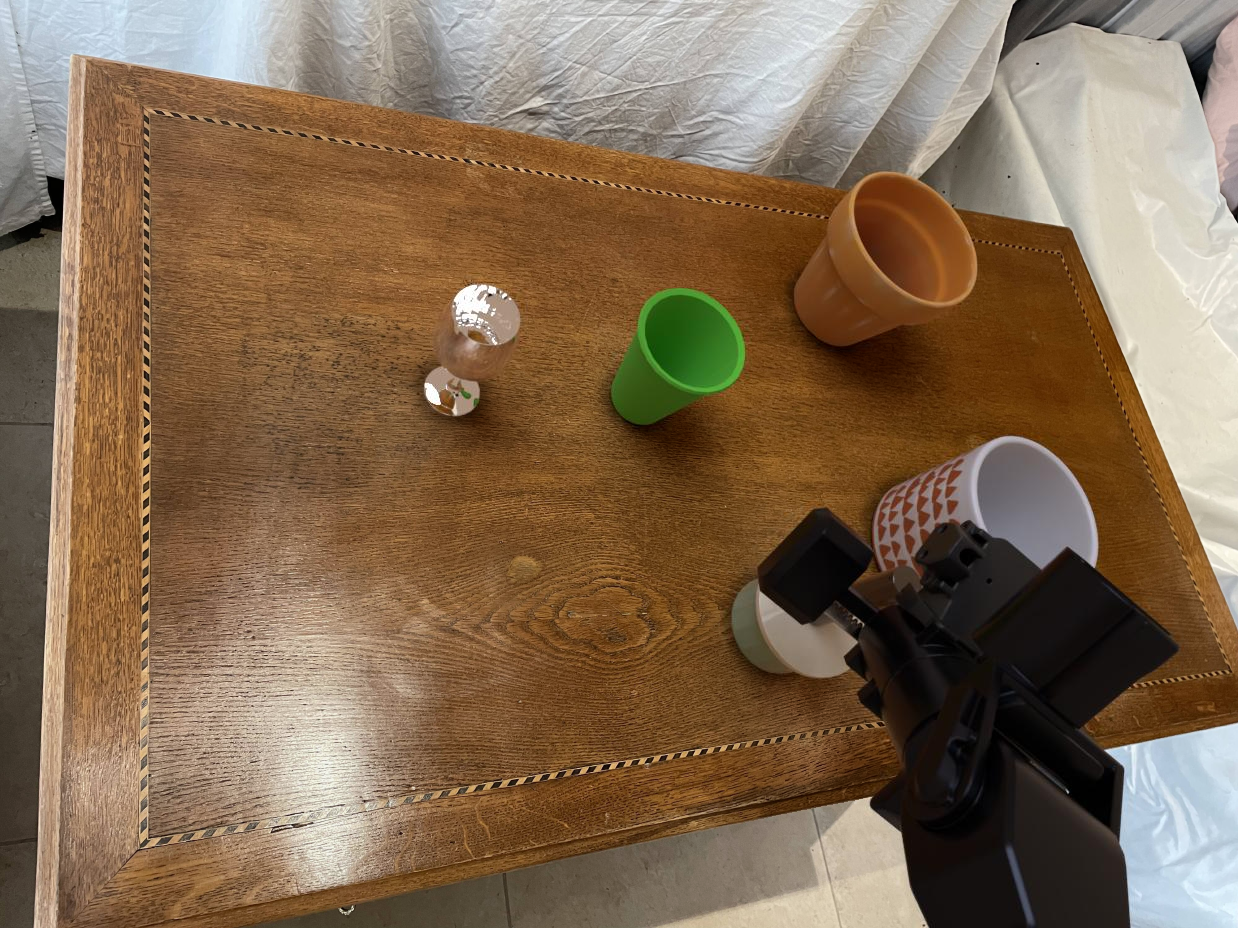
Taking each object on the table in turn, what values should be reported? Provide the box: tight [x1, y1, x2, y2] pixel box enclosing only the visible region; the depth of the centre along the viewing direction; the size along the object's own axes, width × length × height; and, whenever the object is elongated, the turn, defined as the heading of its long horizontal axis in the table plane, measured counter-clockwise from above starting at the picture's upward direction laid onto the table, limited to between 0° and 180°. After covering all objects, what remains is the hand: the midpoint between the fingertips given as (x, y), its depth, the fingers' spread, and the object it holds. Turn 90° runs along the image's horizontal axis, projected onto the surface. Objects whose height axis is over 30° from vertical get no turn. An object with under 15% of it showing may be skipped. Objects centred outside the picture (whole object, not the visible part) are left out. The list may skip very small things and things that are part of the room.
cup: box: [610, 287, 746, 426], centre depth 64 cm, size 9×9×11 cm
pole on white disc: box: [756, 565, 922, 679], centre depth 57 cm, size 10×10×11 cm
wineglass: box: [423, 283, 521, 417], centre depth 57 cm, size 6×6×12 cm
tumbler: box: [730, 578, 796, 675], centre depth 64 cm, size 8×8×6 cm
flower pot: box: [793, 171, 978, 347], centre depth 76 cm, size 14×14×13 cm
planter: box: [871, 435, 1099, 588], centre depth 70 cm, size 14×14×13 cm
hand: (873, 585), depth 56 cm, fingers open, 9 cm apart
